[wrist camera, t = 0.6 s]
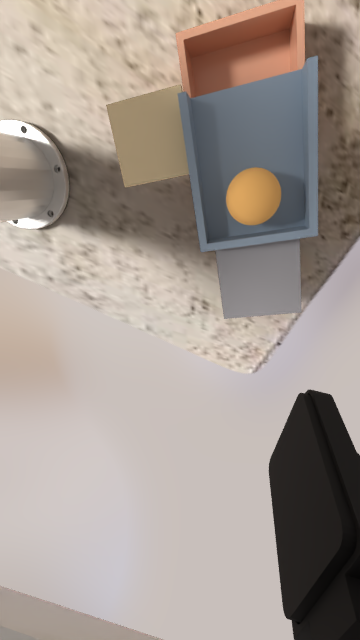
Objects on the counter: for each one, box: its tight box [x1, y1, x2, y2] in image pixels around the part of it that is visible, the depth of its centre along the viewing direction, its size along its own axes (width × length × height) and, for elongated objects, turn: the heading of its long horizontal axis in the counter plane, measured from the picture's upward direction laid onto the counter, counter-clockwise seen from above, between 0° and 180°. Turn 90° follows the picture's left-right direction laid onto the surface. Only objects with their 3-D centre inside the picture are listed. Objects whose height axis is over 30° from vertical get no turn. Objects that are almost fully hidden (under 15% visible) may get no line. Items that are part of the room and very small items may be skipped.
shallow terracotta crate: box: [176, 0, 305, 98], centre depth 30 cm, size 11×11×5 cm
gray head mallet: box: [106, 55, 318, 319], centre depth 27 cm, size 19×15×7 cm
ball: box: [226, 167, 281, 225], centre depth 23 cm, size 4×4×4 cm
